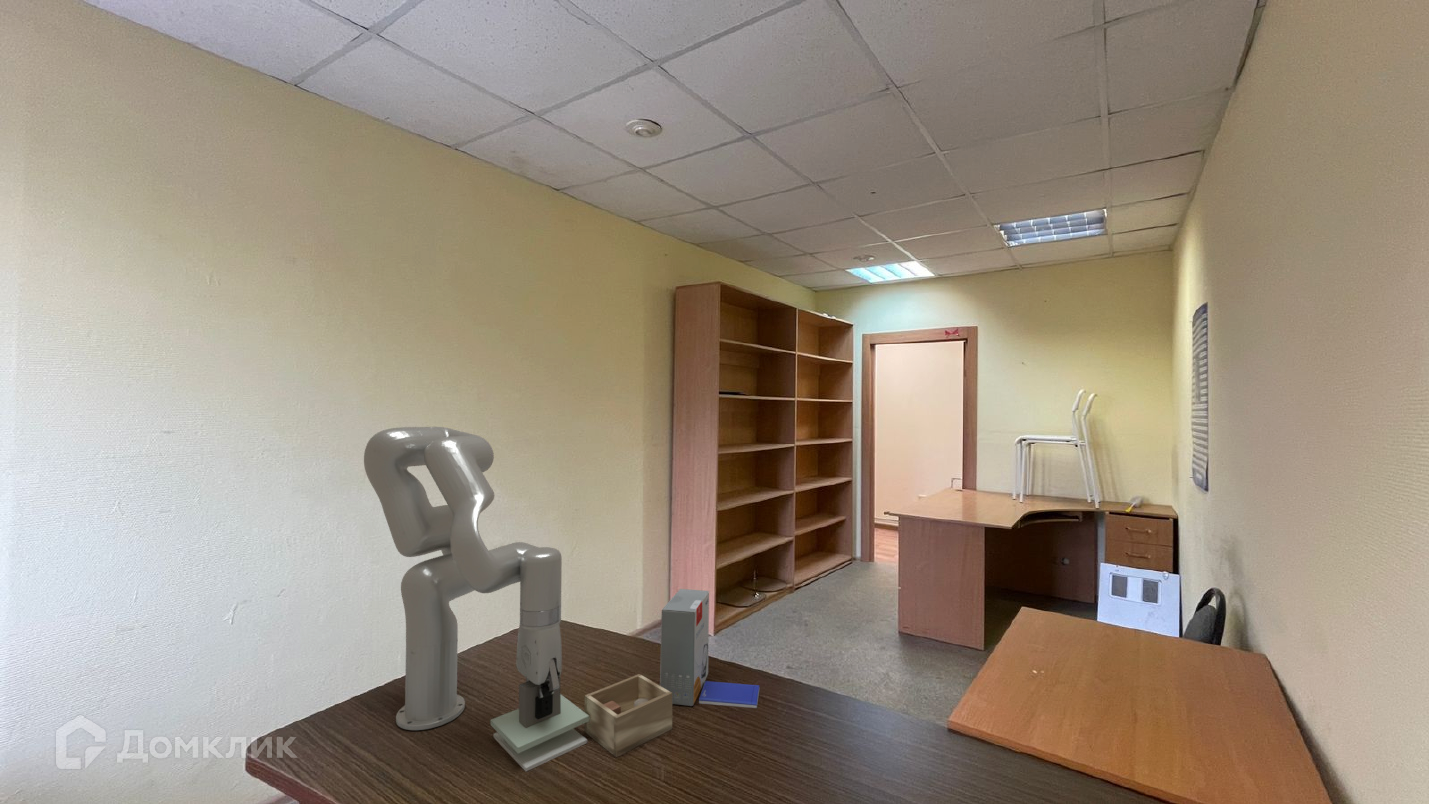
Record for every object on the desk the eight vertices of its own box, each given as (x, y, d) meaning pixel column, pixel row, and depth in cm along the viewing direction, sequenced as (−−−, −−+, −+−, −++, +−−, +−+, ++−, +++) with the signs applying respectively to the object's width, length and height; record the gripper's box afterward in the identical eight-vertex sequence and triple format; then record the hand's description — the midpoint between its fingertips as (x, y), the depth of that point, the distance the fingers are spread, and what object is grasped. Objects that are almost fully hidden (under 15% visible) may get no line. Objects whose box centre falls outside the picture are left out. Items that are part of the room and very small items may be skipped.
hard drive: (698, 698, 117) (756, 703, 115) (705, 680, 125) (759, 684, 123) (698, 705, 117) (756, 710, 115) (705, 687, 125) (759, 691, 123)
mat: (493, 737, 105) (493, 734, 105) (551, 713, 113) (551, 710, 113) (525, 771, 95) (525, 768, 95) (587, 743, 103) (587, 739, 103)
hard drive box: (693, 708, 115) (694, 612, 116) (659, 704, 117) (659, 609, 117) (709, 673, 131) (709, 589, 131) (678, 670, 132) (678, 587, 133)
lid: (490, 730, 103) (490, 682, 104) (558, 702, 113) (558, 658, 113) (518, 759, 95) (517, 707, 95) (589, 726, 104) (588, 679, 105)
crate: (584, 732, 106) (584, 695, 107) (639, 707, 115) (639, 673, 116) (616, 757, 99) (616, 718, 99) (672, 729, 108) (672, 692, 108)
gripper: (503, 608, 108) (502, 703, 107) (541, 632, 96) (540, 739, 95) (539, 599, 113) (538, 690, 112) (580, 621, 101) (579, 722, 101)
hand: (539, 711), depth 104 cm, fingers closed on lid, 2 cm apart
